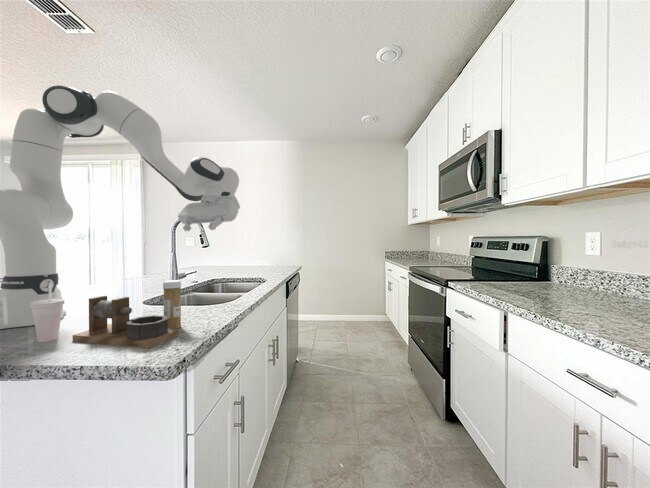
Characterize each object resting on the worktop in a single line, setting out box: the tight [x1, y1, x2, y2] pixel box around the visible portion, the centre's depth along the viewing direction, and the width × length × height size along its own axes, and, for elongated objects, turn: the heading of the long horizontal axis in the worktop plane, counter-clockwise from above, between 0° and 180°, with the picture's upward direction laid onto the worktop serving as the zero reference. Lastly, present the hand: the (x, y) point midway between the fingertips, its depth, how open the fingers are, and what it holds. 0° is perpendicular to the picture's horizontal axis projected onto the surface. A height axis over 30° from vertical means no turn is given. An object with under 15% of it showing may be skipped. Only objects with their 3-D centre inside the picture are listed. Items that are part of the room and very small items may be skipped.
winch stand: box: [72, 295, 180, 349], centre depth 77 cm, size 22×10×10 cm, turn 78°
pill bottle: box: [162, 279, 182, 329], centre depth 85 cm, size 5×5×14 cm
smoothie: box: [30, 283, 65, 343], centre depth 75 cm, size 6×6×14 cm
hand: (198, 229), depth 97 cm, fingers open, 8 cm apart
